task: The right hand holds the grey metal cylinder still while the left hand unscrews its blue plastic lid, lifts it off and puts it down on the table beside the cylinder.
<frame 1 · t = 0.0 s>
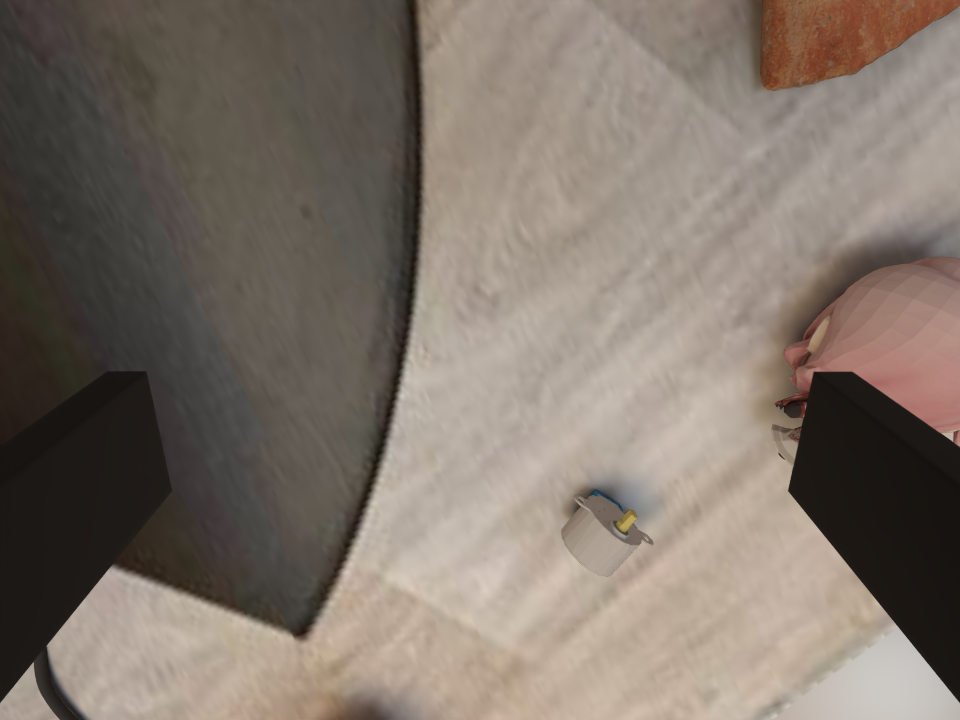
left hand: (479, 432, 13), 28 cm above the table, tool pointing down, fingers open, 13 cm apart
toy 2: (849, 349, 42), on the table
electric motor: (600, 503, 46), on the table
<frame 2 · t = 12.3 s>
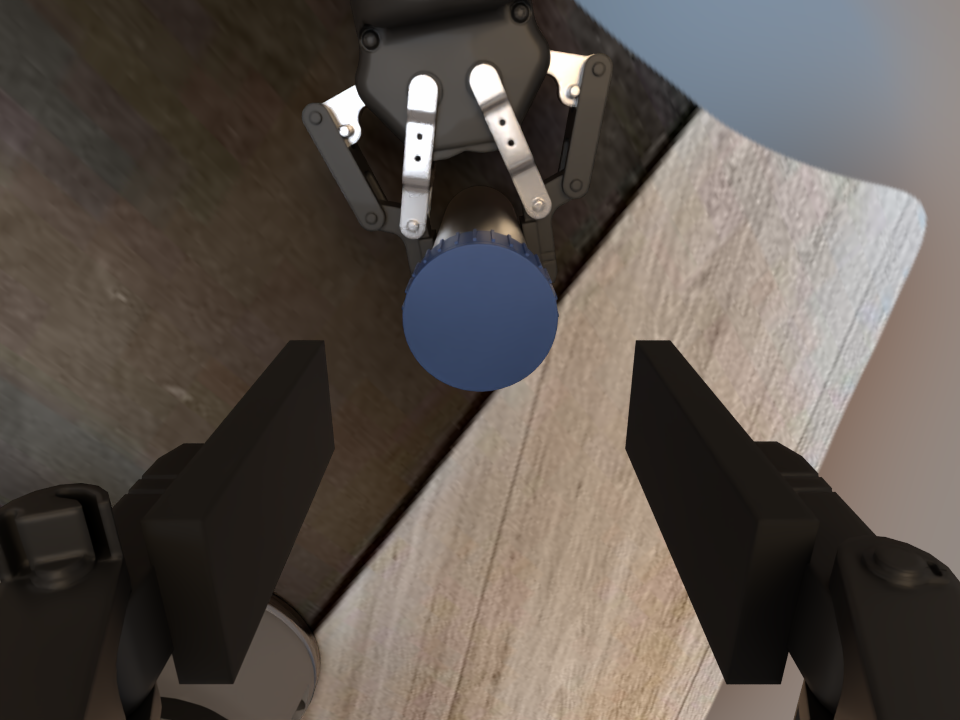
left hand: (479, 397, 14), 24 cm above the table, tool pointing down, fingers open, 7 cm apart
right hand: (489, 298, 31), fingers closed on grey metal cylinder, 4 cm apart
lid: (480, 317, 20), point 18 cm above the table, screwed on, not yet turned
grey metal cylinder: (480, 223, 36), on the table, touching right hand
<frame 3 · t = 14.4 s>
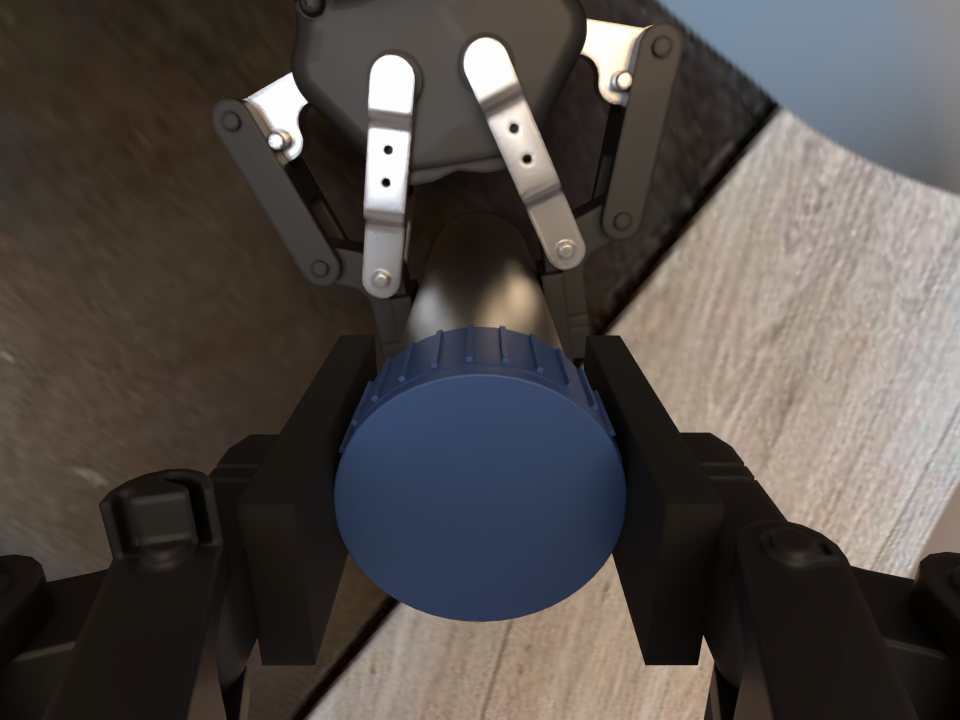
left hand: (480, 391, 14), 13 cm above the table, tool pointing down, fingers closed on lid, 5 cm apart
right hand: (493, 376, 22), fingers closed on grey metal cylinder, 4 cm apart
lid: (480, 496, 11), point 18 cm above the table, screwed on, not yet turned, touching left hand
grey metal cylinder: (480, 261, 27), on the table, touching right hand
when the left hand's fingers open (14 cm above the table, at t = 16.1 s): lid stays where it is, point 18 cm above the table.
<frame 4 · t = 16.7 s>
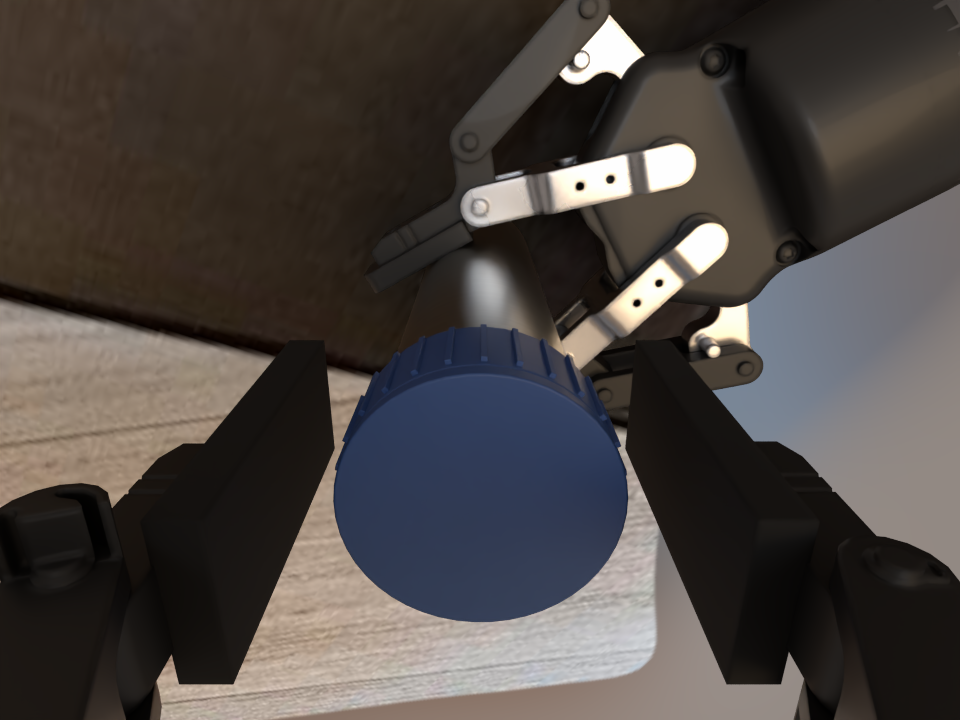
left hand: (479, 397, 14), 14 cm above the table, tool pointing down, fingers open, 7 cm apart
right hand: (413, 337, 22), fingers closed on grey metal cylinder, 4 cm apart
lid: (480, 496, 11), point 18 cm above the table, turned 118° so far, risen 0.4 cm, still on its thread
grey metal cylinder: (480, 259, 27), on the table, touching right hand
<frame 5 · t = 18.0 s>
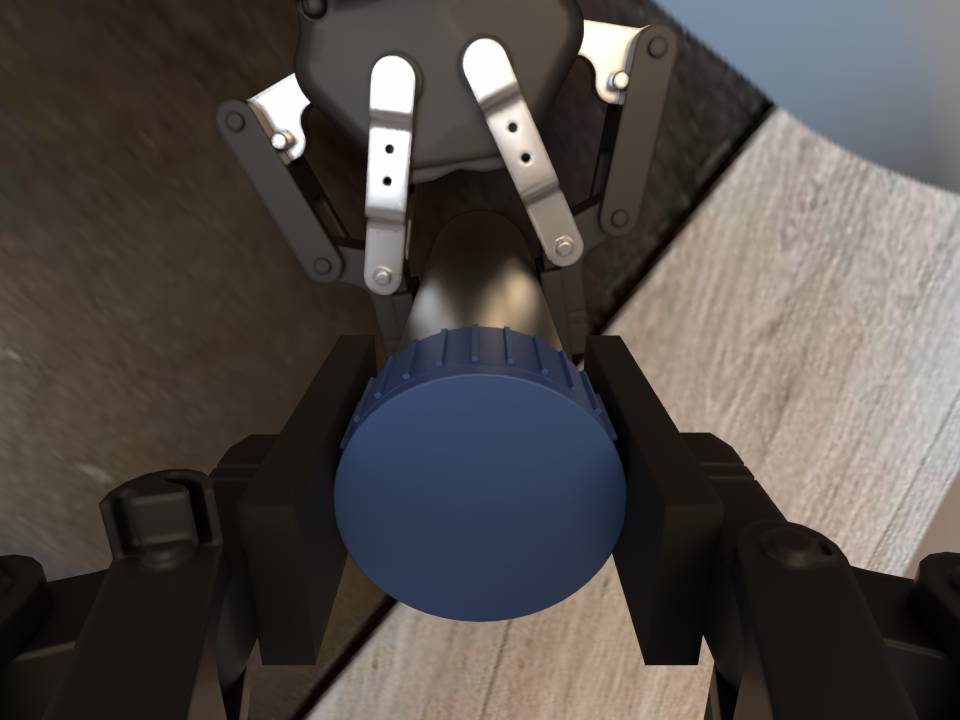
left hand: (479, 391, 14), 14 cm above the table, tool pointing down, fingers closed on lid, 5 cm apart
right hand: (493, 372, 22), fingers closed on grey metal cylinder, 4 cm apart
lid: (480, 496, 11), point 18 cm above the table, turned 118° so far, risen 0.4 cm, still on its thread, touching left hand
grey metal cylinder: (480, 259, 27), on the table, touching right hand
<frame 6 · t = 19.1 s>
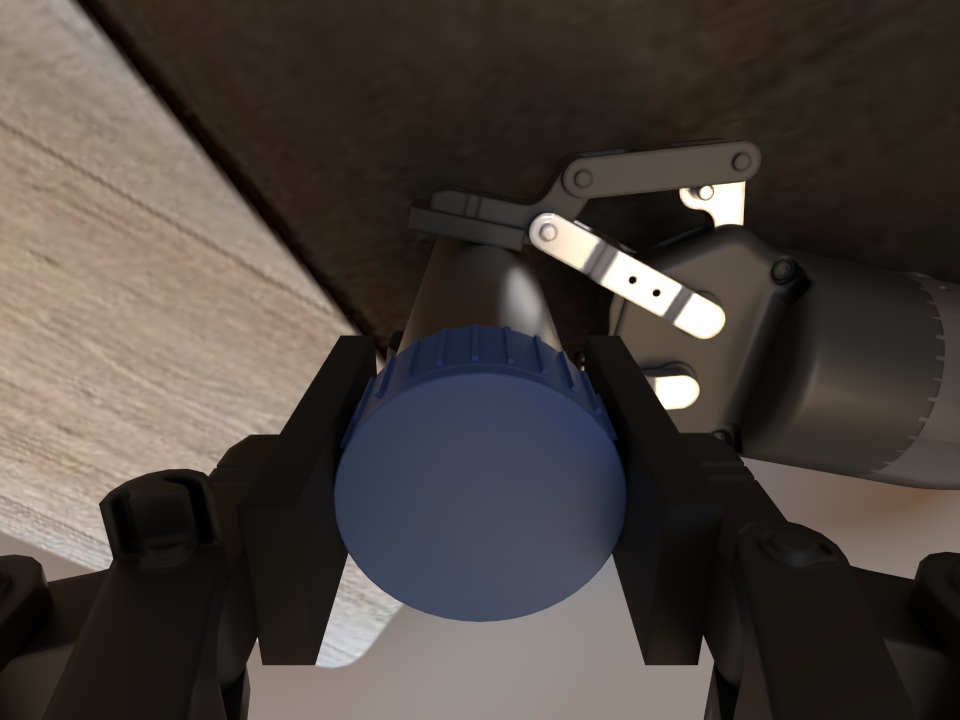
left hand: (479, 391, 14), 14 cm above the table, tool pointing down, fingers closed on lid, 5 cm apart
right hand: (402, 284, 22), fingers closed on grey metal cylinder, 4 cm apart
lid: (480, 496, 11), point 18 cm above the table, off its thread, touching left hand
grey metal cylinder: (480, 258, 28), on the table, touching right hand
when the left hand's fingers open (0 cm above the table, at t = 25.2 s): lid drops 3 cm, point 2 cm above the table.
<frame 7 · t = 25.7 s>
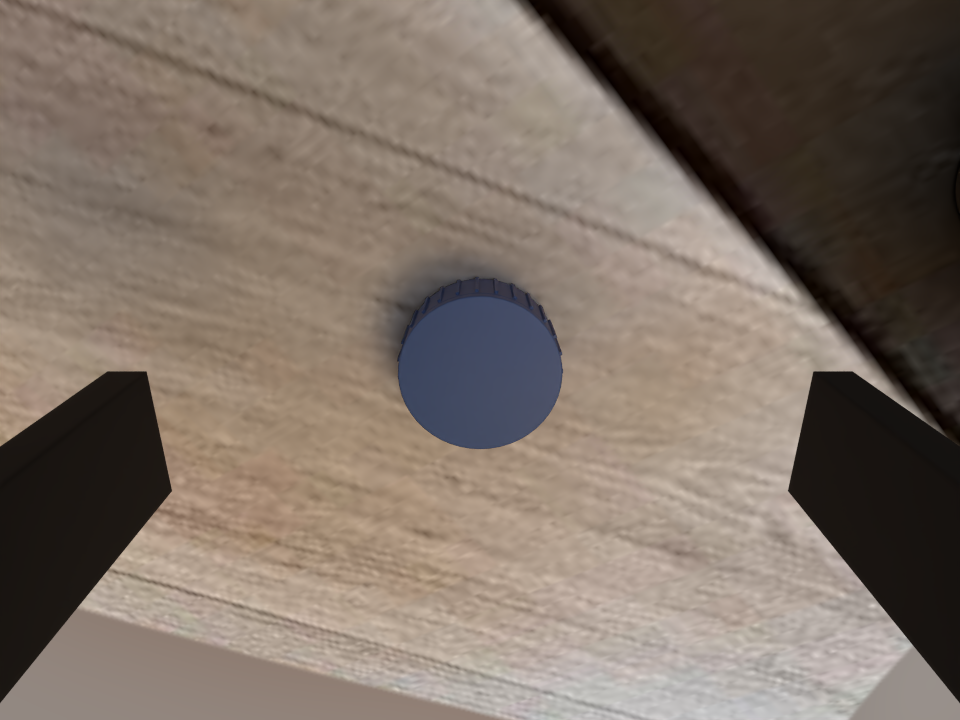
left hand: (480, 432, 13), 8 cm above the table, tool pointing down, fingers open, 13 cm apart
lid: (480, 371, 19), point 2 cm above the table, off its thread
when the right hand's fingers open (6 cm above the table, at t = 25.8 s): grey metal cylinder stays where it is, on the table.
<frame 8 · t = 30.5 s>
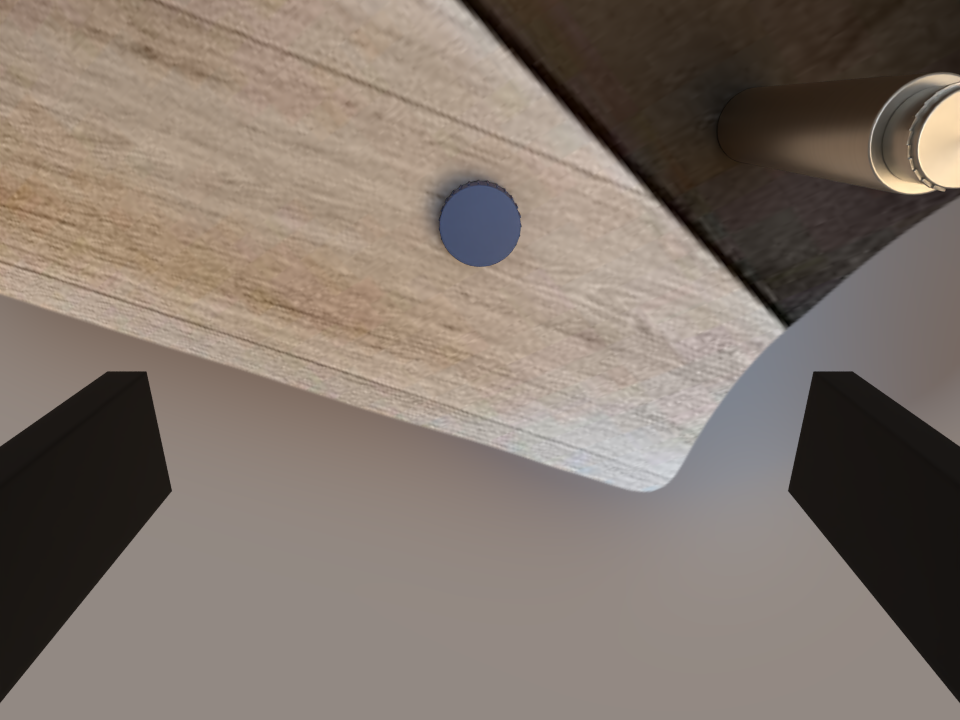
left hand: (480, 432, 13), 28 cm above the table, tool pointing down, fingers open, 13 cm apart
lid: (480, 225, 37), point 2 cm above the table, off its thread
grey metal cylinder: (752, 125, 37), on the table
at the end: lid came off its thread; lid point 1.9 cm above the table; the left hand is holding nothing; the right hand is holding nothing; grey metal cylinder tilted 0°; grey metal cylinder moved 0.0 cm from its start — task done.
